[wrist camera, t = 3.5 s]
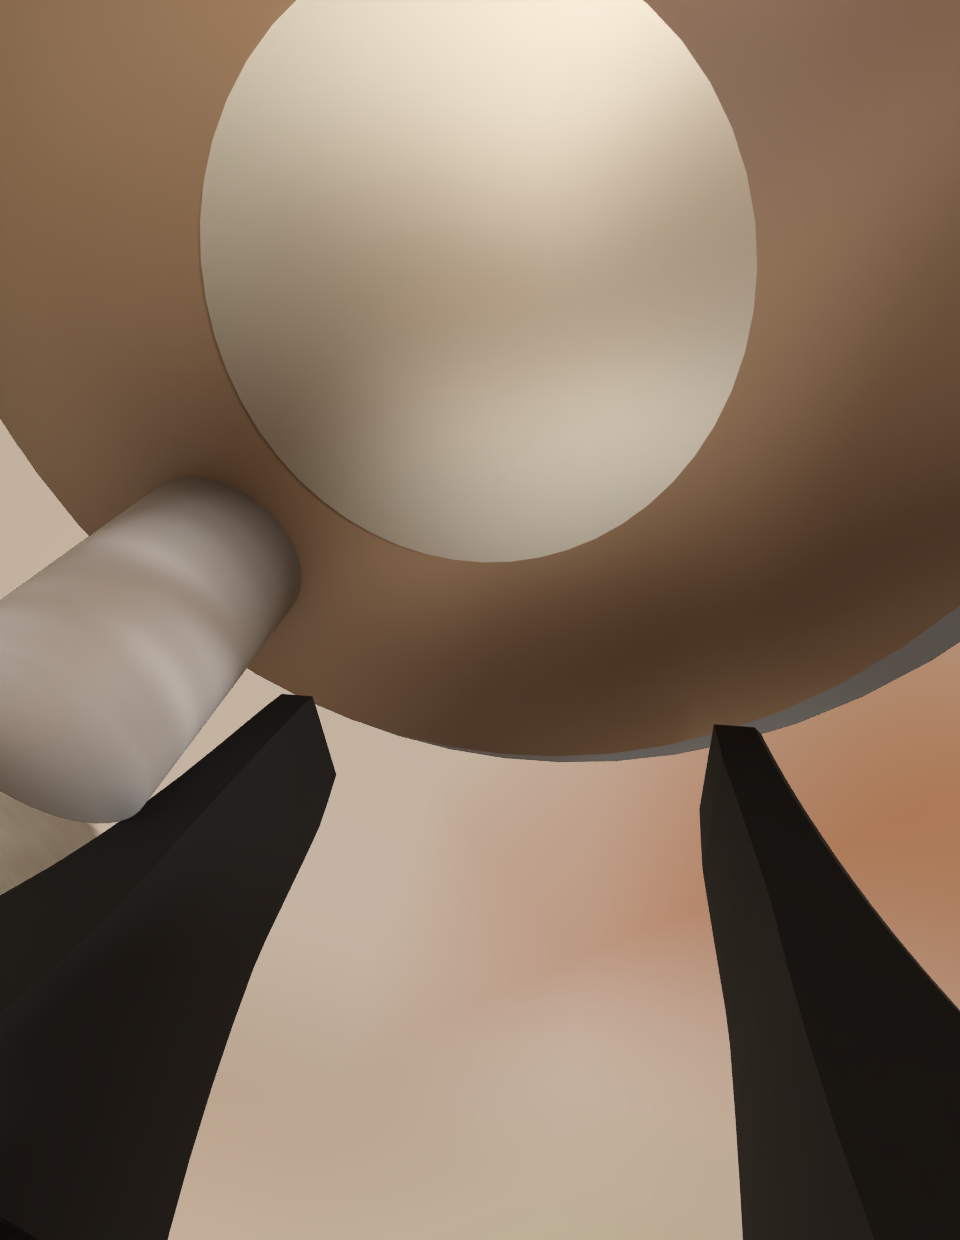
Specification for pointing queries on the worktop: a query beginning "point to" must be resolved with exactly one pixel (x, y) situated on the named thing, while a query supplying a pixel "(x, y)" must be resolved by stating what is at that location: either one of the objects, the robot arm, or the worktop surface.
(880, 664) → the turntable base
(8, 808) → the worktop surface
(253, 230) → the turntable
